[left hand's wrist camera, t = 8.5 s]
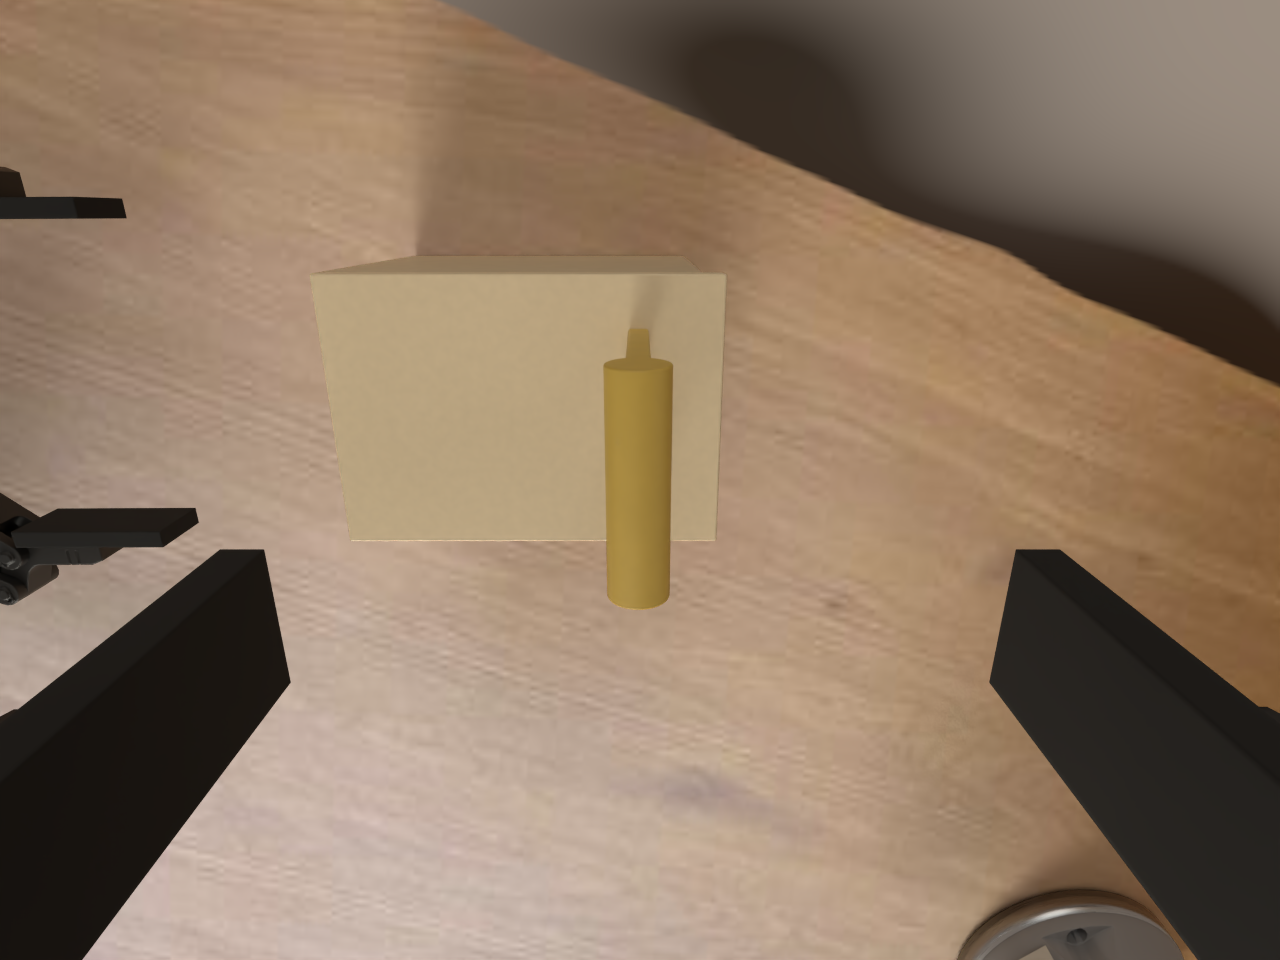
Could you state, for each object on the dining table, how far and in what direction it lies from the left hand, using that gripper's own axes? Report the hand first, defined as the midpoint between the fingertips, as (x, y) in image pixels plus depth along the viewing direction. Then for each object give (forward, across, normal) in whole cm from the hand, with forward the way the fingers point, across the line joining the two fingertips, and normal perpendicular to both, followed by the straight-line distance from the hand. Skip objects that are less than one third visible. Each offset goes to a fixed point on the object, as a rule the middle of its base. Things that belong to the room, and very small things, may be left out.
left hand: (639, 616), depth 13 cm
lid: (+14, +4, 0) cm, 15 cm away
